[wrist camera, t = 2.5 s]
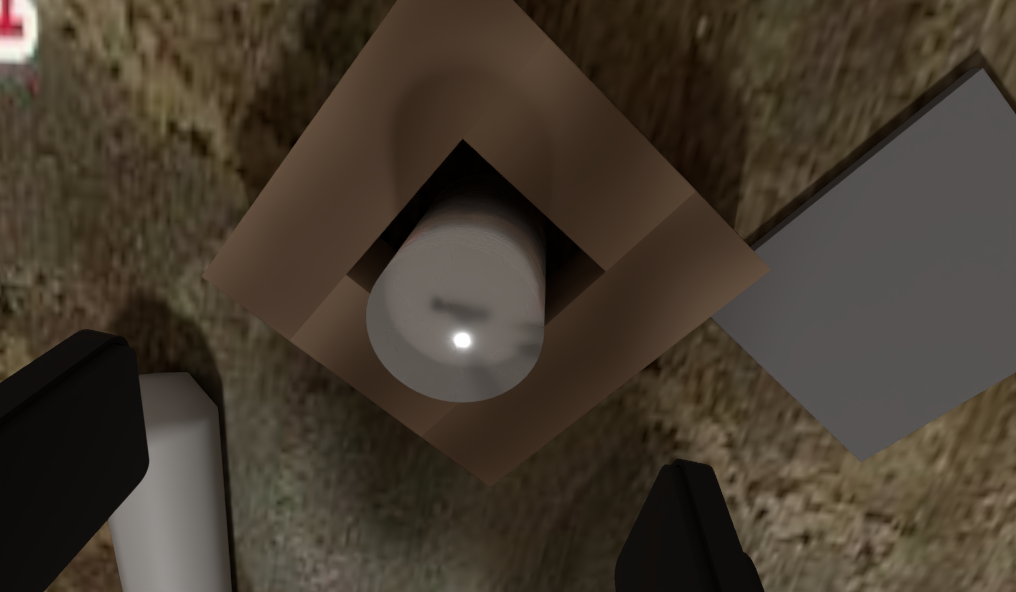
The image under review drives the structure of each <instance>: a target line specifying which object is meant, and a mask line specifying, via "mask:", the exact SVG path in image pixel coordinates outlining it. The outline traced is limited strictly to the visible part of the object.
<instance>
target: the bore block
mask: <svg viewBox="0 0 1016 592" xmlns="http://www.w3.org/2000/svg"><path fill="white" fill-rule="evenodd" d="M462 139H464V140H465V141H466V142H467V143H468V144H469V145H470V146H471V147H472V148H473V149H474V150H476V151H477V152H478V153H479V154H480V155H481V156H482V157H483V158H484V159H485V160H486V161H487V162H488V163H490V164H491V165H492V166H493V167H494V168H495V169H496V170H497V171H498V172H499V173H500V174H501V175H502V176H504V177H505V178H506V179H507V180H508V181H509V182H510V183H511V184H512V185H513V186H514V187H515V188H516V189H518V190H519V191H520V192H521V193H522V194H523V195H524V196H525V197H526V198H527V199H528V200H529V201H530V202H532V203H533V204H534V205H535V206H536V207H537V208H538V209H539V210H540V211H541V212H542V213H543V214H544V215H546V216H547V217H548V218H549V219H550V220H551V221H552V222H553V223H554V224H555V225H556V226H557V227H558V228H560V229H561V230H562V231H563V232H564V233H565V234H566V235H567V236H568V237H569V238H570V239H571V240H572V241H574V242H575V243H576V244H577V245H578V246H579V247H580V249H579V250H578V251H577V252H576V253H575V254H574V255H573V256H572V257H571V258H570V259H569V260H567V261H566V262H565V263H564V264H563V265H562V266H561V267H560V268H559V269H558V270H557V271H556V272H555V273H554V274H552V275H551V276H550V277H549V278H548V279H547V280H546V283H545V317H544V340H543V345H542V349H541V352H540V355H539V357H538V360H537V361H536V363H535V365H534V367H533V368H532V370H531V371H530V372H529V373H528V375H527V376H526V377H525V378H524V379H523V380H522V381H521V382H520V383H518V384H517V385H516V386H514V387H513V388H512V389H510V390H508V391H507V392H505V393H503V394H501V395H498V396H496V397H493V398H490V399H486V400H482V401H476V402H449V401H443V400H438V399H435V398H431V397H428V396H426V395H423V394H421V393H418V392H417V391H415V390H413V389H411V388H409V387H408V386H406V385H405V384H403V383H402V382H400V381H399V380H398V379H397V378H396V377H394V376H393V375H392V374H391V373H390V372H389V371H388V370H387V369H386V367H385V366H384V365H383V364H382V362H381V361H380V359H379V358H378V356H377V354H376V353H375V351H374V349H373V347H372V344H371V342H370V339H369V335H368V331H367V324H366V309H367V304H368V299H369V296H370V293H371V291H372V288H373V287H374V285H375V283H376V281H377V280H378V278H379V277H380V275H381V274H382V273H383V271H384V270H385V268H386V267H387V266H388V264H389V263H390V261H391V260H392V259H393V257H394V256H395V254H396V253H397V251H395V250H394V249H393V248H392V247H391V246H389V245H388V244H387V243H386V242H385V241H383V240H382V239H381V238H380V237H379V236H380V235H381V234H382V232H383V231H384V230H385V229H386V228H387V227H388V225H389V224H390V223H391V222H392V221H393V220H394V218H395V217H396V216H397V215H398V214H399V213H400V211H401V210H402V209H403V208H404V207H405V206H406V204H407V203H408V202H409V201H410V200H411V198H412V197H413V196H414V195H415V194H416V193H417V191H418V190H419V189H420V188H421V187H422V186H423V184H424V183H425V182H426V181H427V180H428V179H429V177H430V176H431V175H432V174H433V173H434V172H435V170H436V169H437V168H438V167H439V166H440V165H441V163H442V162H443V161H444V160H445V159H446V158H447V156H448V155H449V154H450V153H451V152H452V151H453V149H454V148H455V147H456V146H457V145H458V144H459V142H460V141H461V140H462ZM770 270H771V269H770V268H769V267H768V266H767V265H766V264H765V262H764V261H763V260H762V259H761V258H760V257H759V256H758V255H757V254H756V253H755V252H754V251H753V250H752V249H751V247H750V246H749V245H748V244H747V243H746V242H745V241H744V240H743V239H742V238H741V237H740V236H739V235H738V234H737V232H736V231H735V230H734V229H733V228H732V227H731V226H730V225H729V224H728V223H727V222H726V221H725V220H724V219H723V218H722V217H721V216H720V215H719V214H718V213H717V212H716V211H715V209H714V208H713V207H712V206H711V205H710V204H709V203H708V202H707V201H706V200H705V199H704V198H703V197H702V196H701V195H700V194H699V193H698V192H697V191H696V190H695V189H694V188H693V187H692V185H691V184H690V183H689V182H688V181H687V180H686V179H685V178H684V177H683V176H682V175H681V174H680V173H679V172H678V171H677V170H676V169H675V168H674V167H673V166H672V165H671V164H670V163H669V161H668V160H667V159H666V158H665V157H664V156H663V155H662V154H661V153H660V152H659V151H658V150H657V149H656V148H655V147H654V146H653V145H652V144H651V143H650V142H649V141H648V140H647V139H646V137H645V136H644V135H643V134H642V133H641V132H640V131H639V130H638V129H637V128H636V127H635V126H634V125H633V124H632V123H631V122H630V121H629V120H628V119H627V118H626V117H625V116H624V115H623V113H622V112H621V111H620V110H619V109H618V108H617V107H616V106H615V105H614V104H613V103H612V102H611V101H610V100H609V99H608V98H607V97H606V96H605V95H604V94H603V93H602V92H601V91H600V89H599V88H598V87H597V86H596V85H595V84H594V83H593V82H592V81H591V80H590V79H589V78H588V77H587V76H586V75H585V74H584V73H583V72H582V71H581V70H580V69H579V68H578V67H577V66H576V64H575V63H574V62H573V61H572V60H571V59H570V58H569V57H568V56H567V55H566V54H565V53H564V52H563V51H562V50H561V49H560V48H559V47H558V46H557V45H556V44H555V43H554V42H553V40H552V39H551V38H550V37H549V36H548V35H547V34H546V33H545V32H544V31H543V30H542V29H541V28H540V27H539V26H538V25H537V24H536V23H535V22H534V21H533V20H532V19H531V18H530V16H529V15H528V14H527V13H526V12H525V11H524V10H523V9H522V8H521V7H520V6H519V5H518V4H517V3H516V2H515V1H514V0H397V1H396V2H395V4H394V5H393V7H392V8H391V10H390V11H389V12H388V14H387V15H386V17H385V18H384V19H383V21H382V22H381V24H380V25H379V26H378V28H377V29H376V31H375V32H374V34H373V35H372V36H371V38H370V39H369V41H368V42H367V43H366V45H365V46H364V48H363V49H362V50H361V52H360V53H359V55H358V56H357V58H356V59H355V60H354V62H353V63H352V65H351V66H350V67H349V69H348V70H347V72H346V73H345V74H344V76H343V77H342V79H341V80H340V82H339V83H338V84H337V86H336V87H335V89H334V90H333V91H332V93H331V94H330V96H329V97H328V98H327V100H326V101H325V103H324V104H323V106H322V107H321V108H320V110H319V111H318V113H317V114H316V115H315V117H314V118H313V120H312V121H311V122H310V124H309V125H308V127H307V128H306V130H305V131H304V132H303V134H302V135H301V137H300V138H299V139H298V141H297V142H296V144H295V145H294V146H293V148H292V149H291V151H290V152H289V154H288V155H287V156H286V158H285V159H284V161H283V162H282V163H281V165H280V166H279V168H278V169H277V170H276V172H275V173H274V175H273V176H272V178H271V179H270V180H269V182H268V183H267V185H266V186H265V187H264V189H263V190H262V192H261V193H260V194H259V196H258V197H257V199H256V200H255V202H254V203H253V204H252V206H251V207H250V209H249V210H248V211H247V213H246V214H245V216H244V217H243V219H242V220H241V221H240V223H239V224H238V226H237V227H236V228H235V230H234V231H233V233H232V234H231V235H230V237H229V238H228V240H227V241H226V243H225V244H224V245H223V247H222V248H221V250H220V251H219V252H218V254H217V255H216V257H215V258H214V259H213V261H212V262H211V264H210V265H209V267H208V268H207V269H206V271H205V272H204V274H203V275H202V277H203V278H204V279H206V280H207V281H208V282H210V283H211V284H212V285H214V286H215V287H217V288H218V289H219V290H221V291H222V292H223V293H225V294H226V295H227V296H229V297H230V298H232V299H233V300H234V301H236V302H237V303H238V304H240V305H241V306H243V307H244V308H245V309H247V310H248V311H249V312H251V313H252V314H253V315H255V316H256V317H258V318H259V319H260V320H262V321H263V322H264V323H266V324H267V325H268V326H270V327H271V328H273V329H274V330H275V331H277V332H278V333H279V334H281V335H282V336H284V337H285V338H286V339H288V340H289V341H290V342H292V343H293V344H294V345H296V346H297V347H299V348H300V349H301V350H303V351H304V352H305V353H307V354H308V355H309V356H311V357H312V358H314V359H315V360H316V361H318V362H319V363H320V364H322V365H323V366H325V367H326V368H327V369H329V370H330V371H331V372H333V373H334V374H335V375H337V376H338V377H340V378H341V379H342V380H344V381H345V382H346V383H348V384H349V385H350V386H352V387H353V388H355V389H356V390H357V391H359V392H360V393H361V394H363V395H364V396H366V397H367V398H368V399H370V400H371V401H372V402H374V403H375V404H376V405H378V406H379V407H381V408H382V409H383V410H385V411H386V412H387V413H389V414H390V415H392V416H393V417H394V418H396V419H397V420H398V421H400V422H401V423H402V424H404V425H405V426H407V427H408V428H409V429H411V430H412V431H413V432H415V433H416V434H417V435H419V436H420V437H422V438H423V439H424V440H426V441H427V442H428V443H430V444H431V445H433V446H434V447H435V448H437V449H438V450H439V451H441V452H442V453H443V454H445V455H446V456H448V457H449V458H450V459H452V460H453V461H454V462H456V463H457V464H458V465H460V466H461V467H463V468H464V469H465V470H467V471H468V472H469V473H471V474H472V475H474V476H475V477H476V478H478V479H479V480H480V481H482V482H483V483H484V484H486V485H487V486H489V487H492V486H493V485H494V484H496V483H497V482H498V481H499V480H501V479H502V478H503V477H505V476H506V475H507V474H508V473H510V472H511V471H512V470H514V469H515V468H516V467H518V466H519V465H520V464H521V463H523V462H524V461H525V460H527V459H528V458H529V457H530V456H532V455H533V454H534V453H536V452H537V451H538V450H539V449H541V448H542V447H543V446H545V445H546V444H547V443H548V442H550V441H551V440H552V439H554V438H555V437H556V436H557V435H559V434H560V433H561V432H563V431H564V430H565V429H566V428H568V427H569V426H570V425H572V424H573V423H574V422H575V421H577V420H578V419H579V418H581V417H582V416H583V415H585V414H586V413H587V412H588V411H590V410H591V409H592V408H594V407H595V406H596V405H597V404H599V403H600V402H601V401H603V400H604V399H605V398H606V397H608V396H609V395H610V394H612V393H613V392H614V391H615V390H617V389H618V388H619V387H621V386H622V385H623V384H624V383H626V382H627V381H628V380H630V379H631V378H632V377H633V376H635V375H636V374H637V373H639V372H640V371H641V370H642V369H644V368H645V367H646V366H648V365H649V364H650V363H652V362H653V361H654V360H655V359H657V358H658V357H659V356H661V355H662V354H663V353H664V352H666V351H667V350H668V349H670V348H671V347H672V346H673V345H675V344H676V343H677V342H679V341H680V340H681V339H682V338H684V337H685V336H686V335H688V334H689V333H690V332H691V331H693V330H694V329H695V328H697V327H698V326H699V325H700V324H702V323H703V322H704V321H706V320H707V319H708V318H709V317H711V316H712V315H713V314H715V313H716V312H717V311H719V310H720V309H721V308H722V307H724V306H725V305H726V304H728V303H729V302H730V301H731V300H733V299H734V298H735V297H737V296H738V295H739V294H740V293H742V292H743V291H744V290H746V289H747V288H748V287H749V286H751V285H752V284H753V283H755V282H756V281H757V280H758V279H760V278H761V277H762V276H764V275H765V274H766V273H767V272H769V271H770Z"/></svg>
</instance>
